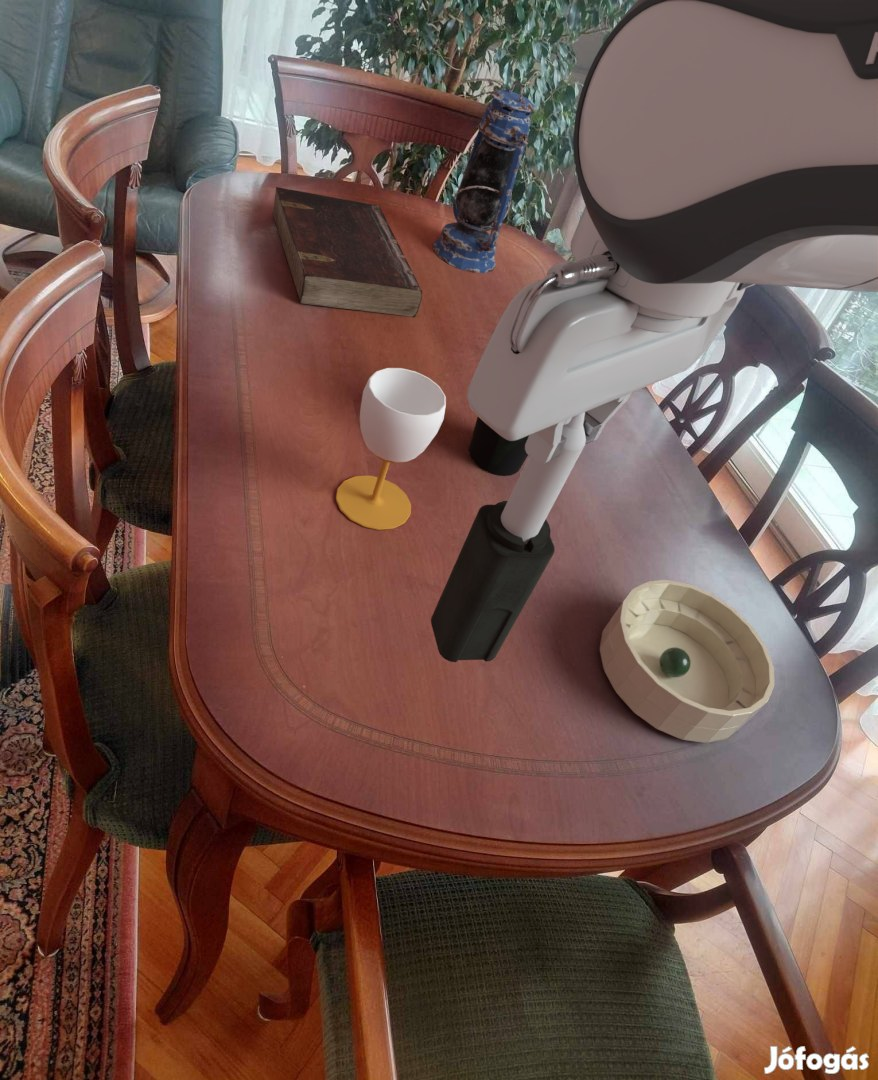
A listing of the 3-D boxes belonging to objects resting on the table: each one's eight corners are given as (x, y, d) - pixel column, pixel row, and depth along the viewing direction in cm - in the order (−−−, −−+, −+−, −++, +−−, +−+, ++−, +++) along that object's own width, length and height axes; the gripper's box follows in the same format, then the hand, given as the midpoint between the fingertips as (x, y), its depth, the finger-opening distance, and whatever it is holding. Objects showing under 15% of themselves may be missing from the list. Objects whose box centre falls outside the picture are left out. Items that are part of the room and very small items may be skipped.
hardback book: (416, 317, 125) (424, 289, 122) (300, 305, 118) (305, 275, 114) (375, 230, 143) (381, 203, 140) (272, 215, 136) (276, 186, 132)
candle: (441, 662, 62) (563, 412, 45) (427, 612, 65) (536, 361, 48) (499, 661, 64) (638, 420, 47) (483, 612, 67) (607, 370, 50)
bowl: (744, 772, 79) (777, 742, 75) (586, 704, 79) (611, 671, 75) (742, 650, 92) (771, 618, 88) (607, 592, 92) (629, 558, 88)
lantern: (510, 278, 145) (574, 107, 125) (454, 276, 139) (511, 96, 119) (473, 236, 154) (527, 70, 133) (418, 233, 148) (466, 58, 127)
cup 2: (492, 491, 99) (538, 388, 88) (443, 442, 104) (481, 338, 93) (545, 471, 105) (594, 373, 95) (497, 426, 110) (538, 327, 99)
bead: (653, 663, 83) (666, 686, 84) (681, 655, 81) (695, 679, 82) (655, 646, 85) (668, 668, 86) (683, 638, 84) (696, 661, 85)
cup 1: (417, 532, 90) (457, 423, 79) (339, 528, 87) (371, 413, 76) (404, 479, 96) (440, 371, 85) (331, 473, 93) (359, 360, 82)
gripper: (591, 306, 33) (488, 531, 43) (788, 253, 46) (676, 435, 56) (489, 234, 36) (413, 461, 45) (704, 203, 49) (610, 385, 58)
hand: (560, 446), depth 50 cm, fingers closed on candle, 3 cm apart
